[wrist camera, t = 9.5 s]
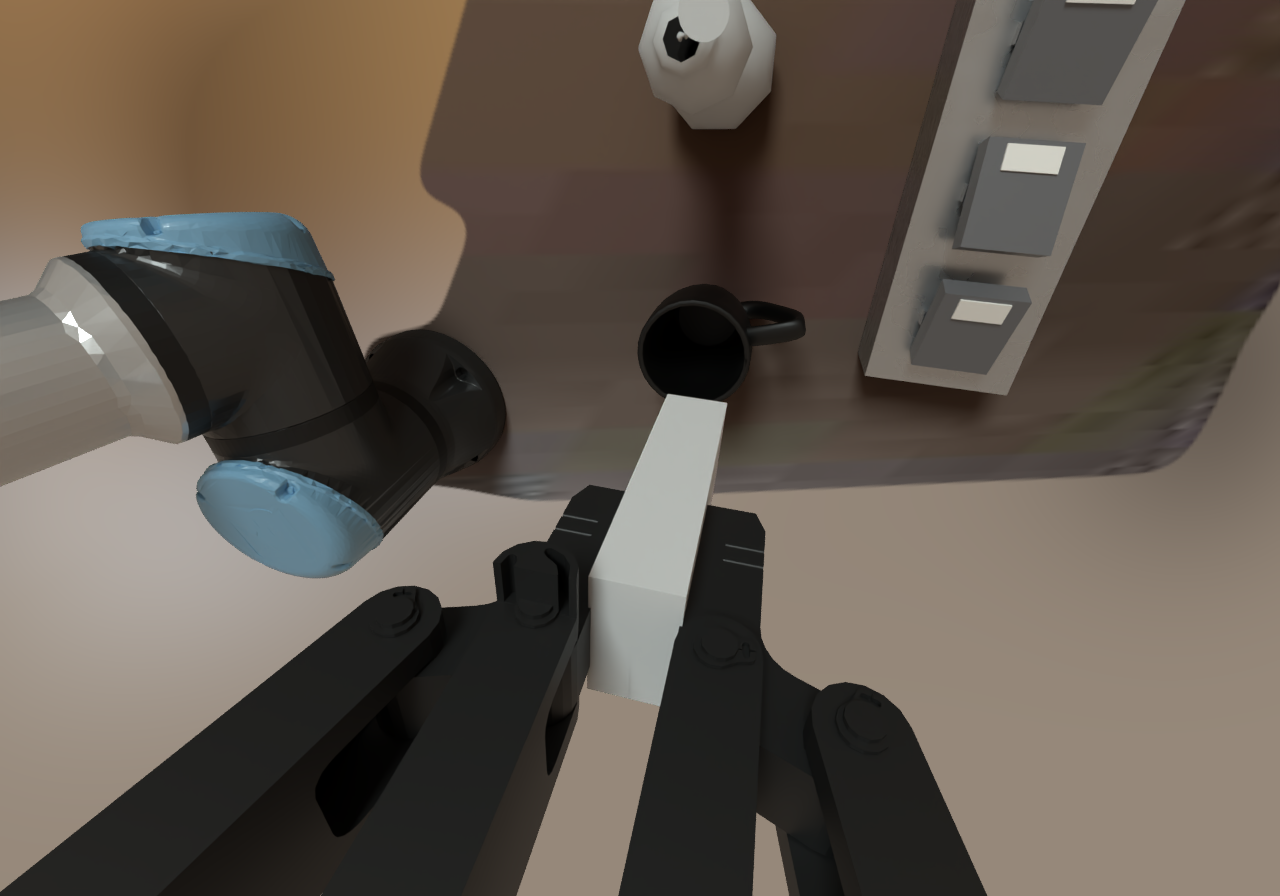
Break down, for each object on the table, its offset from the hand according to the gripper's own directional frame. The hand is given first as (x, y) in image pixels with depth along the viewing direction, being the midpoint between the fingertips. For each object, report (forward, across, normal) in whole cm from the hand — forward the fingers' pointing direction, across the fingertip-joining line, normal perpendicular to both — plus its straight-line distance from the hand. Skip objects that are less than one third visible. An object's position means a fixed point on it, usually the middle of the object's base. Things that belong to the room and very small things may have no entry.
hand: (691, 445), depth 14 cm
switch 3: (+28, +15, -4) cm, 32 cm away
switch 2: (+28, +15, +4) cm, 32 cm away
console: (+34, +15, +4) cm, 38 cm away
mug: (+35, -1, -7) cm, 35 cm away
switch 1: (+28, +15, +12) cm, 34 cm away
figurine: (+35, -4, +10) cm, 36 cm away
